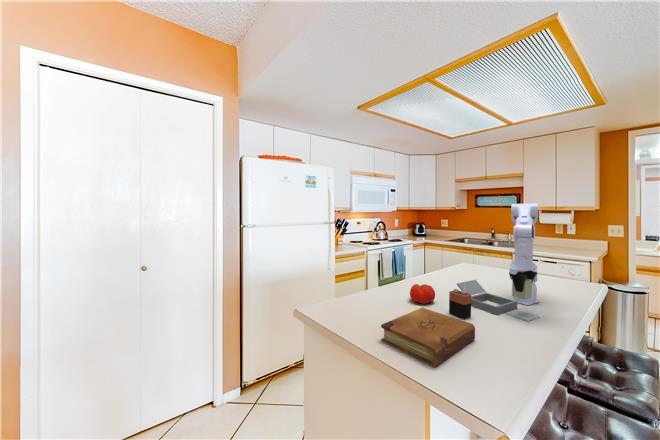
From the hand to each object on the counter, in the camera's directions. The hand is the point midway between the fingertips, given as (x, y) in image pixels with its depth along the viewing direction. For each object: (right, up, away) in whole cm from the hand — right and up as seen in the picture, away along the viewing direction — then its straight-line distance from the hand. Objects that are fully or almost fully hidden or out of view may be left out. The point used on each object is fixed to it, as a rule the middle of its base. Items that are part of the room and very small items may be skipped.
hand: (522, 290), depth 101 cm
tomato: (-33, -10, +17) cm, 38 cm away
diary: (-43, -12, -18) cm, 48 cm away
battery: (-24, -10, +1) cm, 26 cm away
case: (-7, -9, +13) cm, 17 cm away
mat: (0, -10, 0) cm, 10 cm away
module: (0, -3, 0) cm, 3 cm away
